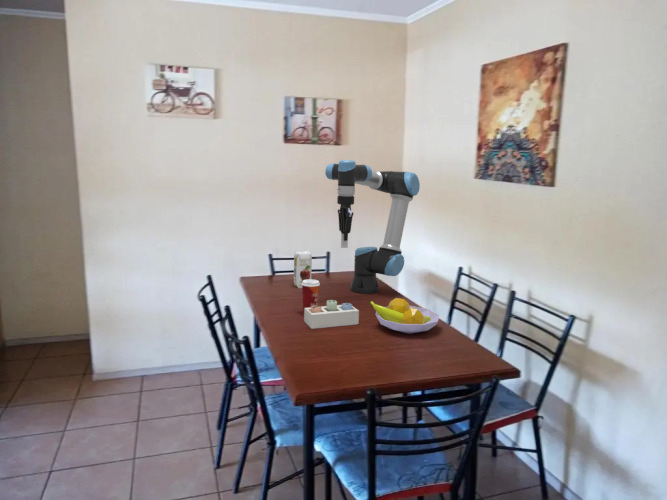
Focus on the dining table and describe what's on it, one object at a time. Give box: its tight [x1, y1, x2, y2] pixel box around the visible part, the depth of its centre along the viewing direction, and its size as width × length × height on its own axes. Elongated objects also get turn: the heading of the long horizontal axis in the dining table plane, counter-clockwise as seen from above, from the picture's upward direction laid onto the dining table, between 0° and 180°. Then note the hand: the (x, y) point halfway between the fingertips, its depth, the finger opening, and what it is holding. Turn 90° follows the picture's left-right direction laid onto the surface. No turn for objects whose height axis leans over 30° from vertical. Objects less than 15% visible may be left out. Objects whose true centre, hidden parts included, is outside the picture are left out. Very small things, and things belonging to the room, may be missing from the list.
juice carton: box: [293, 250, 313, 289], centre depth 275 cm, size 8×9×19 cm
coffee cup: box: [301, 278, 321, 314], centre depth 229 cm, size 8×8×15 cm
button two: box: [325, 299, 338, 312], centre depth 217 cm, size 4×4×6 cm
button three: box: [311, 305, 322, 313], centre depth 215 cm, size 4×4×6 cm
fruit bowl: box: [369, 297, 440, 334], centre depth 214 cm, size 28×27×11 cm
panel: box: [303, 304, 360, 330], centre depth 218 cm, size 21×10×6 cm, turn 111°
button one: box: [341, 302, 353, 310], centre depth 220 cm, size 4×4×6 cm
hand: (344, 247), depth 232 cm, fingers closed
